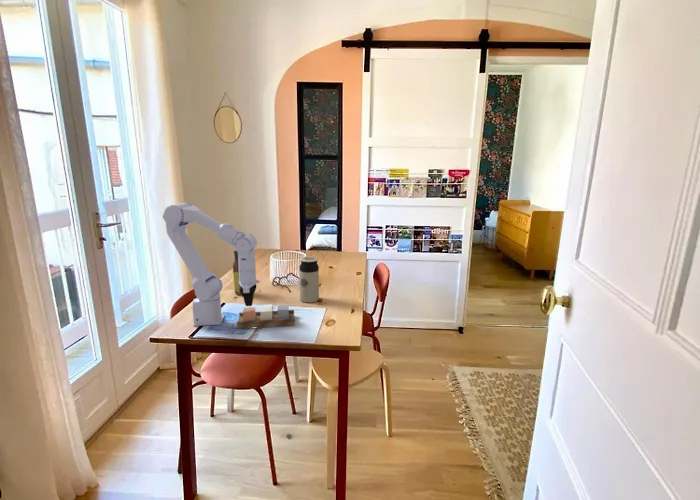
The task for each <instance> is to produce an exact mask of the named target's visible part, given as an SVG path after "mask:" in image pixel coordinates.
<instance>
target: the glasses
mask: <svg viewBox="0 0 700 500" xmlns="http://www.w3.org/2000/svg"><path fill="white" fill-rule="evenodd" d="M290 275H291V276H294V278H296V279H298V280H300V276H297V275H295V274H294V273H293V272H289V273H287V275H284V276H281V277H280V276H275V277H274V278H273V279H272V281H271V284H272V286H274V287H276V286H275V285H277V286H280V287H282V288H286V289H287V290H288V292H289V293H291V292H292V291H291V289H290V288H289V287H288V286H286V285H283V284H281V280H282V279H285V280H286V279H287V280H288V278H289V276H290ZM276 279H279V280H278V282H277V281H276ZM274 283H275V284H274Z"/></svg>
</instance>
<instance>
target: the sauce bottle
mask: <svg viewBox="0 0 700 500" xmlns="http://www.w3.org/2000/svg"><path fill="white" fill-rule="evenodd" d="M233 254H234V261H233V263H232V276H233V277H232V278H233V286H234V287H233V288H234V289H233V290H234V293H235V295H237V296H243V295H242V293H241V292H240V290H239V288H240V285H239V265H238V252H237V251H236V249H235V248H234V249H233Z"/></svg>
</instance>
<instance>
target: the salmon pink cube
mask: <svg viewBox="0 0 700 500" xmlns="http://www.w3.org/2000/svg"><path fill="white" fill-rule="evenodd" d="M242 312H243V321H255V317H256V312H257V311H256V306H253V307H252V306H248V307H243V310H242Z"/></svg>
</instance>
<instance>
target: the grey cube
mask: <svg viewBox="0 0 700 500" xmlns="http://www.w3.org/2000/svg"><path fill="white" fill-rule="evenodd" d="M289 307H290V306H289V305H277V309H276V311H277V312H278V319H289V310H290V309H289Z"/></svg>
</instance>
